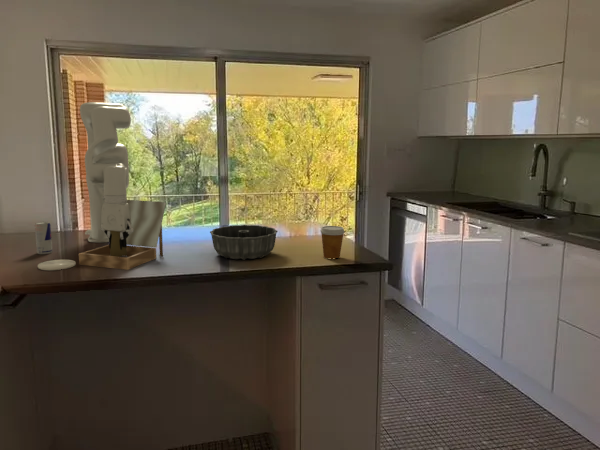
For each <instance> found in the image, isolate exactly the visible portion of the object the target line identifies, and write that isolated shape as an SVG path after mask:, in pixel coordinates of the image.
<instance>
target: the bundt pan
mask: <svg viewBox="0 0 600 450" xmlns="http://www.w3.org/2000/svg"><path fill="white" fill-rule="evenodd" d="M209 233H210V235H211V240H212V245H213V248H214V251H215V252H216V253H217V254H218V255H219V256H221V257H223V256H224V257H223V258H225V259H227V258H230V259H233V260H240V259H241V260H243V261H245V260H247V259H249V260H254V259H257V258H258V259H261V258H264V257H265V256H268V255H269V254H270V253H271V252H272V251H273V249H274V248H275V245H276V238H277V234H278V230H277V229H276V228H274V227H271V226H270V227H269V226H267V225H266V226H265V225H257V224H249V225H248V224H240V225H239V224H238V225H236V224H235V225H228V226H220V227H217V228H213V229H212V230H210V231H209Z"/></svg>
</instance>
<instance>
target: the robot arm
mask: <svg viewBox="0 0 600 450" xmlns="http://www.w3.org/2000/svg"><path fill="white" fill-rule="evenodd" d="M79 112H80V113H79V115H80V118H81V120H82V123H83V126H84V128H85V130H86V131H85V132H86V135H87V150H86V151H85V155H84V167H85V173H86V174H85V180H86V186H87V187H86V188H87V190H88V197H89V199H88V201H89V214H90V229H87V230H86V231H85V232H84V234H85V235H89V236H88V238H87V241H88V242H90V243H95V244H96V243H97V244H99V243H100V244H101V243H103V244H104V243H108V245H109V248H110V249H111V238H112V234H111V233H110V231H117V232H120V238H121V239H119V242H120V249H121V250H122V246H123V247H126V246H128V245H127V241H126V238H128V236H129V235H130V234H131V233H133V232H134V229H133V228H132V226H131V214H130V209H129V205H128V203H127V200H128V196H127V189H128V188H129V186H130V185H129V184H130V171H129V170H130V169H129V153H128V148H127V146H125V144H123V143H119V136H118V131H117V129H122V130H123V129H125V130H127V129H128V128H130V126H131V121H132V119H131V114H130V112H129V109H128V108H127V106H125V105H124V104H123V103H116V102H115V103H114V102H113V103H112V102H96V101H95V102H94V101H93V102H92V101H91V102H89V101H88V102H84V103H81V105H80V107H79ZM127 230H128V231H127ZM123 232H125V233H124V234H123ZM126 248H127V247H126Z"/></svg>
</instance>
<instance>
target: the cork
mask: <svg viewBox="0 0 600 450" xmlns="http://www.w3.org/2000/svg"><path fill="white" fill-rule="evenodd" d="M110 233H111V234H112V238H111V249H110V256H116V257H126V256H125V255H127V250H126V247H123V246H122V250H121V249H120V242H119V239H121V238H120V232H117V231H110ZM124 233H125V232H123V234H124Z"/></svg>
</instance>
